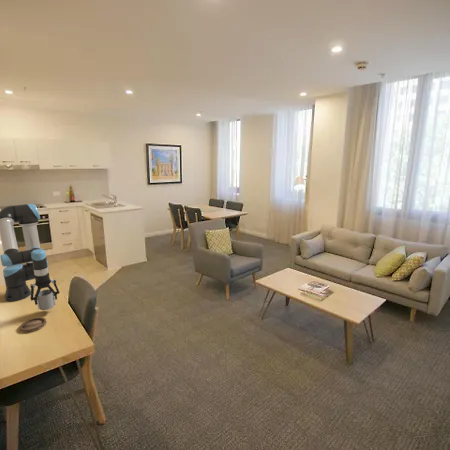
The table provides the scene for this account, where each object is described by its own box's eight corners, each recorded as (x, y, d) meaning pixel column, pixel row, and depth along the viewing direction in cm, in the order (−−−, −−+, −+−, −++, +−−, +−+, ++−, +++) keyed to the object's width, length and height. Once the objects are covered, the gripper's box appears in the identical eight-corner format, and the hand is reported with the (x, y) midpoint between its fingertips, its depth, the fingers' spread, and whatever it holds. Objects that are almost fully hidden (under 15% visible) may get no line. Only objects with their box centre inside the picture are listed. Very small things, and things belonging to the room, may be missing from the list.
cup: (47, 311, 180) (45, 296, 178) (36, 309, 182) (33, 295, 179) (57, 303, 188) (55, 290, 186) (46, 302, 190) (44, 288, 187)
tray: (19, 324, 173) (19, 322, 173) (44, 317, 181) (44, 314, 180) (21, 335, 163) (20, 332, 163) (47, 327, 171) (47, 324, 170)
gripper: (21, 280, 170) (28, 314, 176) (62, 271, 182) (66, 303, 188) (20, 276, 175) (26, 308, 182) (59, 267, 188) (64, 298, 194)
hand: (47, 306), depth 185 cm, fingers closed on cup, 8 cm apart
